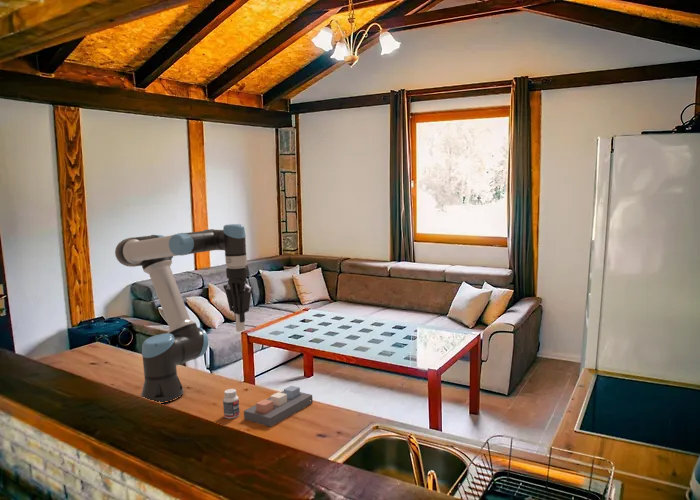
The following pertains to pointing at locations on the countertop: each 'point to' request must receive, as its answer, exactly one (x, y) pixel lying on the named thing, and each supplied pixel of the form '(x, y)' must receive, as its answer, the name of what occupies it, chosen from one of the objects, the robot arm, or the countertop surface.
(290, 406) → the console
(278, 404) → the white key
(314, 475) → the countertop surface
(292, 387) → the slate key
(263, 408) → the terracotta key
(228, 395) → the pill bottle
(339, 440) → the countertop surface
